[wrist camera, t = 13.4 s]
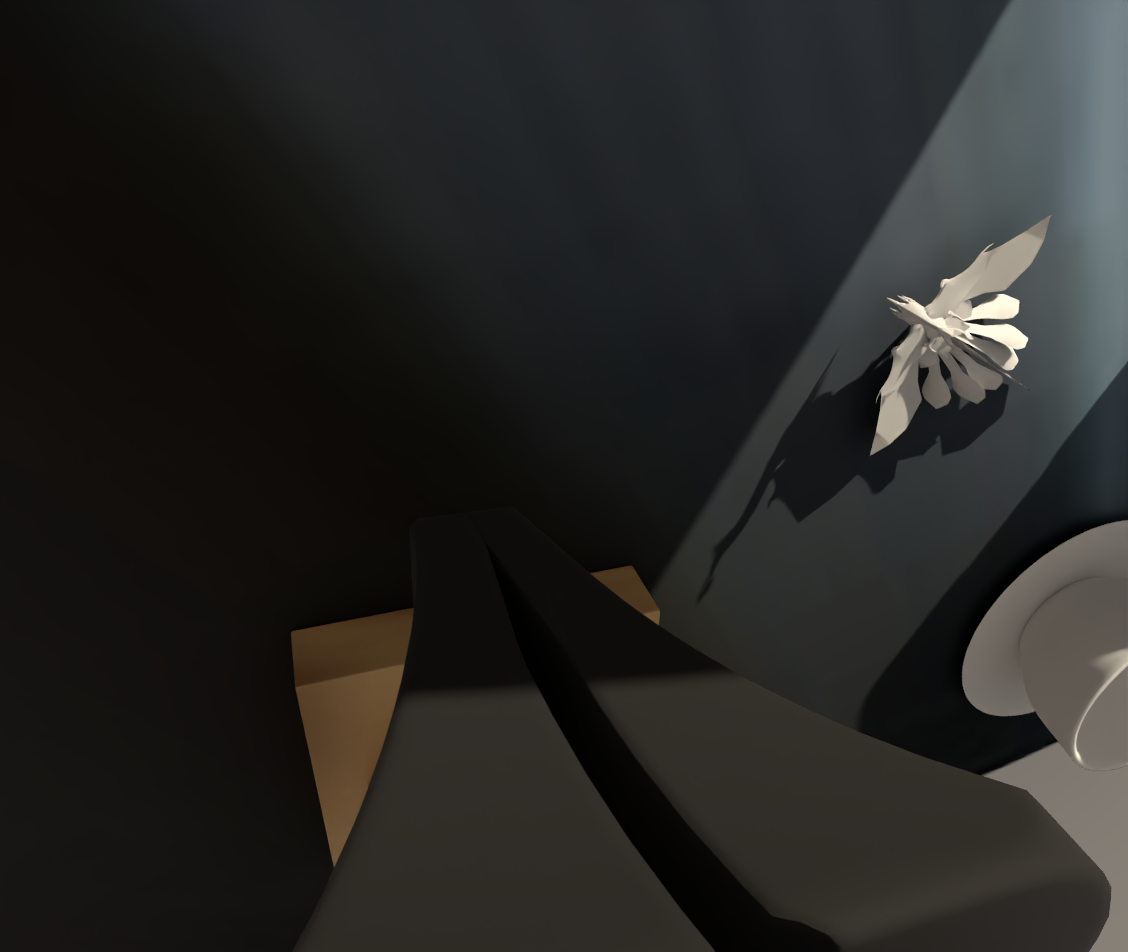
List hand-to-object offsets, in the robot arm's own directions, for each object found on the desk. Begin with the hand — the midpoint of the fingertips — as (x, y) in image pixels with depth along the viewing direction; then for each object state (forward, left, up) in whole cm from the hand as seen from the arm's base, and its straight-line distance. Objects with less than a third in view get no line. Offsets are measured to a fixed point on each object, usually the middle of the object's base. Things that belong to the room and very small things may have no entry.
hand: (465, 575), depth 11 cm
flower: (+17, -3, -11) cm, 20 cm away
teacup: (+26, -16, -10) cm, 32 cm away
